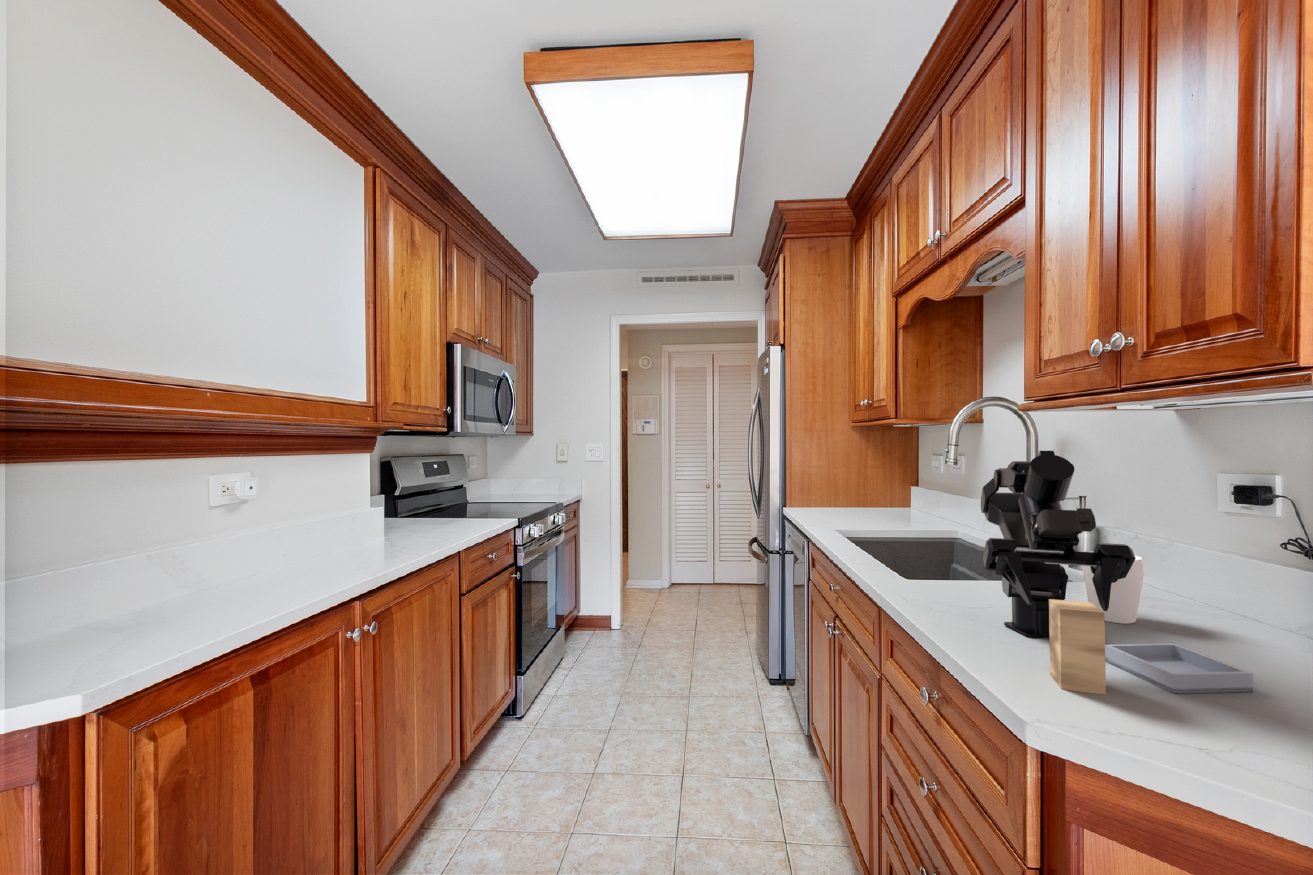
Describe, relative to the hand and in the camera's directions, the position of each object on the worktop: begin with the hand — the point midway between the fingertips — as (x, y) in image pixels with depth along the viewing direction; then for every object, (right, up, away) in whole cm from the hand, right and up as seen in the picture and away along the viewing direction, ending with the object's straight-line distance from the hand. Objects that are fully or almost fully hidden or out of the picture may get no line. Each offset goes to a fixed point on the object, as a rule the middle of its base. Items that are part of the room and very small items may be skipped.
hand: (1067, 606), depth 80 cm
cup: (+27, -10, +24) cm, 38 cm away
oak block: (-1, -10, -3) cm, 10 cm away
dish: (+15, -10, -1) cm, 18 cm away
